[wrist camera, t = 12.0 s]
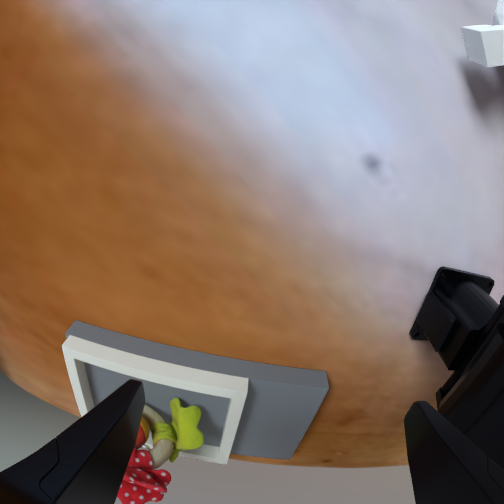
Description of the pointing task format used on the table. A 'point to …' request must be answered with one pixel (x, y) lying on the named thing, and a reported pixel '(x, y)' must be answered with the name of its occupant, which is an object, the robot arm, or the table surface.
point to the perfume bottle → (486, 40)
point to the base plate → (200, 391)
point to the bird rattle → (159, 452)
